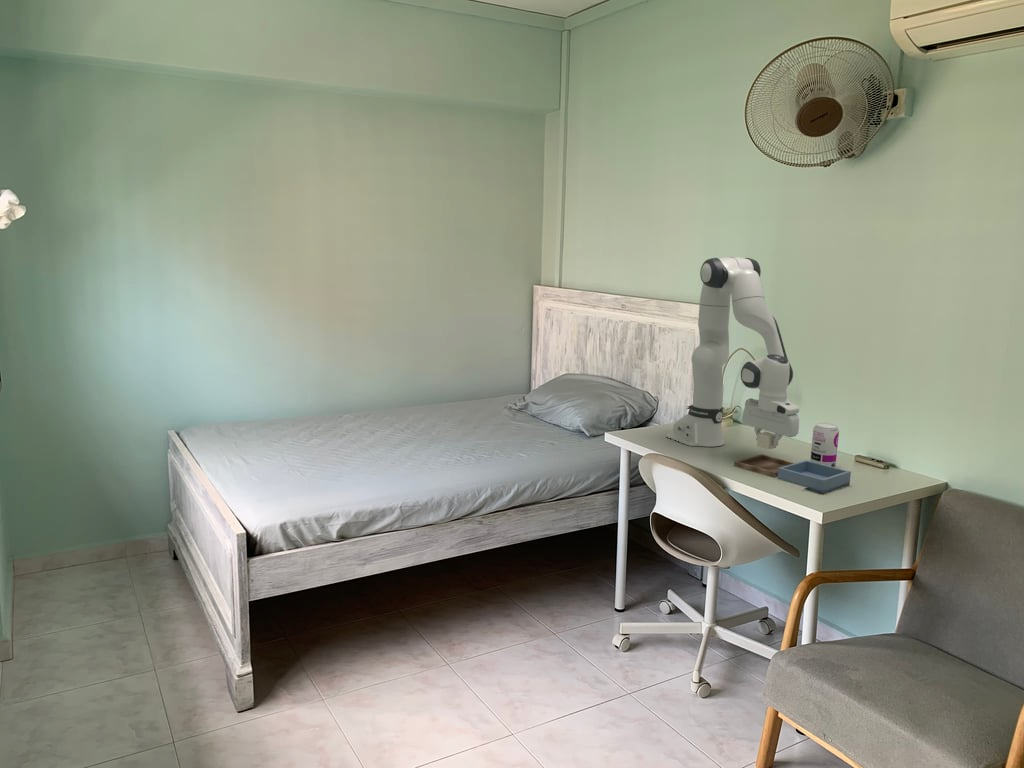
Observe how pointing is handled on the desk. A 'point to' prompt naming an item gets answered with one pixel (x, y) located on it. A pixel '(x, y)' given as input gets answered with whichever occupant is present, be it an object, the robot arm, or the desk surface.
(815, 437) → the supplement can
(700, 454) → the desk surface
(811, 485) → the slate-blue bin
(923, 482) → the desk surface
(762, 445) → the sandstone block
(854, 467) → the desk surface
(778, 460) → the walnut tray
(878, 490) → the desk surface
